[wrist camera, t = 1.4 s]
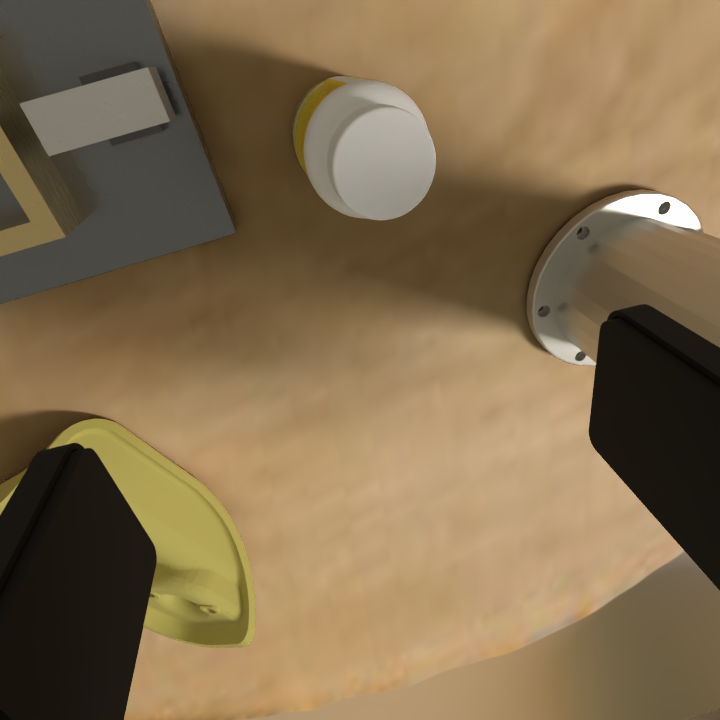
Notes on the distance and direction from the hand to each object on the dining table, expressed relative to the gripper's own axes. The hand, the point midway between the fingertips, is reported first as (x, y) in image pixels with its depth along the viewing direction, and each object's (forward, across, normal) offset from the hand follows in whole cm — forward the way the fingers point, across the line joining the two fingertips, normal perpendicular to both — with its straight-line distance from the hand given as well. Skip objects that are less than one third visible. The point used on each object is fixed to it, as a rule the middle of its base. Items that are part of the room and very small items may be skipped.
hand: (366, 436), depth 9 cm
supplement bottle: (+22, -3, -2) cm, 22 cm away
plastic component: (+22, +18, +21) cm, 35 cm away
